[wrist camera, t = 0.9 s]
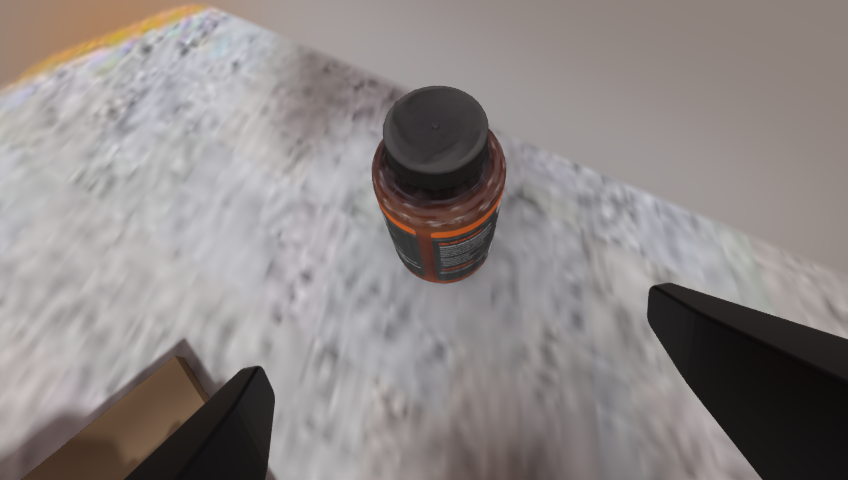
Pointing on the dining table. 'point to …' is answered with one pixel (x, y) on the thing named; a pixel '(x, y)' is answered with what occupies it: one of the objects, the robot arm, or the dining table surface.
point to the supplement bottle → (439, 182)
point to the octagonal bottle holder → (128, 428)
